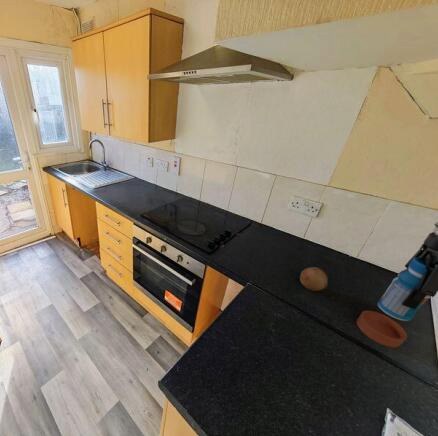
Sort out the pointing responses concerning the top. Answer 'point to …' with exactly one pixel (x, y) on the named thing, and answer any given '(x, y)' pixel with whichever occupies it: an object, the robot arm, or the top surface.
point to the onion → (314, 279)
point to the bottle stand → (381, 329)
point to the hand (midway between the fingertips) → (404, 297)
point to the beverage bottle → (403, 291)
